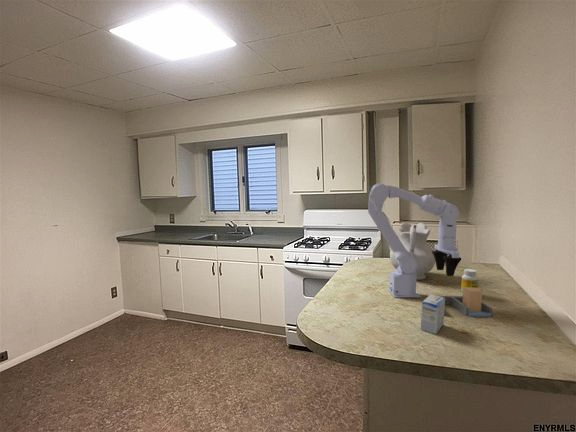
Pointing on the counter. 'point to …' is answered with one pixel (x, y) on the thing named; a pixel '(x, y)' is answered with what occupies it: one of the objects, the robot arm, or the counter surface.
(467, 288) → the tan rectangular block
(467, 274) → the supplement bottle
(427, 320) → the medicine box
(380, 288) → the counter surface
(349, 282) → the counter surface
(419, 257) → the ceramic pitcher
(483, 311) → the blue shallow tray
